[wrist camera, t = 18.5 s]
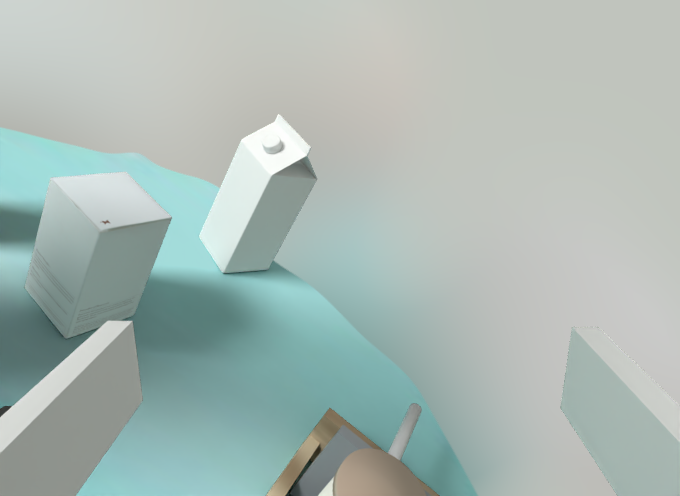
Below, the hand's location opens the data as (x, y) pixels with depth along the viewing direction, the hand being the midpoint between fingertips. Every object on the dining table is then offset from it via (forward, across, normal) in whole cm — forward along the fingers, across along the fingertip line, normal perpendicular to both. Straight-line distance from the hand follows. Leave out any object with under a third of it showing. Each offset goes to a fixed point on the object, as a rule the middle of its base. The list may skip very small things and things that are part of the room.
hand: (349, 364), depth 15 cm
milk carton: (+50, -16, -12) cm, 54 cm away
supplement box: (+31, -26, -11) cm, 42 cm away
